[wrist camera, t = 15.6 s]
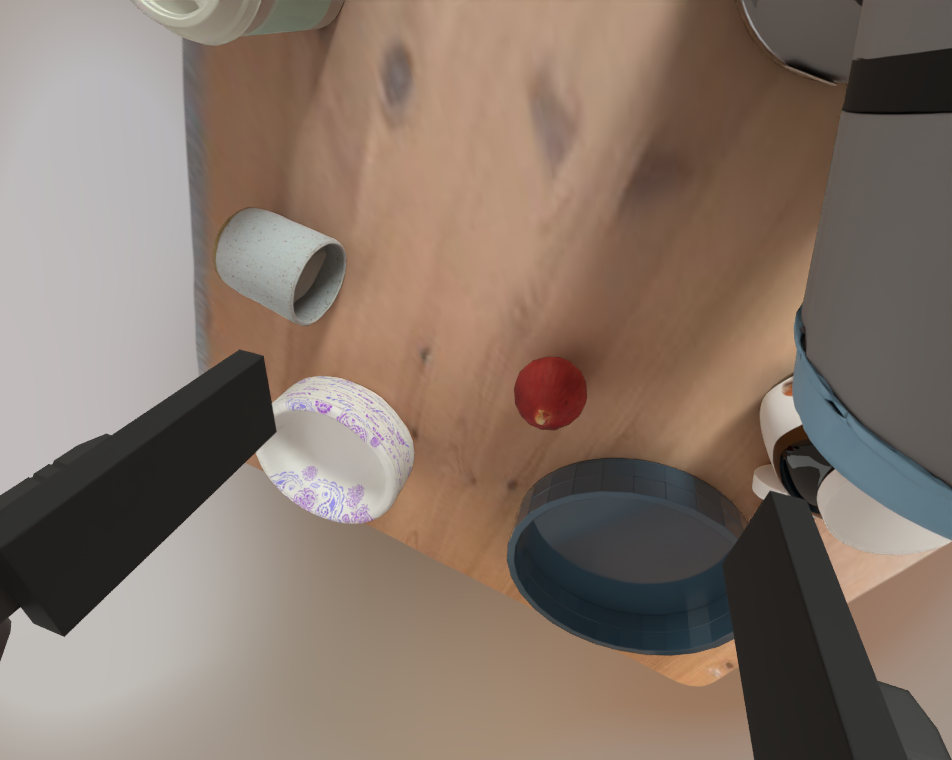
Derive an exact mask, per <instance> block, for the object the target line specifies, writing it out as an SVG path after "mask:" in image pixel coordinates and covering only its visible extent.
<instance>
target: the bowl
mask: <svg viewBox="0 0 952 760" xmlns="http://www.w3.org/2000/svg"><path fill="white" fill-rule="evenodd" d="M747 525H748V524H747V522H746V520H745V519H744V517H743V516H742V514H741V512H740V511H739V510H738V509H737V508H736V507H735V506H734V504H733V503H732V502H731V501H730V500H729V499H727V498H726V497H725V496H724V495H723V494H722V493H720V492H719V491H718V490H716V489H715V488H713V487H712V486H710V485H709V484H707V483H706V482H704V481H702V480H700V479H698V478H696V477H695V476H693V475H691V474H688V473H686V472H683V471H681V470H678V469H676V468H673V467H669V466H666V465H662V464H659V463H654V462H649V461H643V460H637V459H625V458H604V459H595V460H587V461H583V462H579V463H574V464H571V465H568V466H565V467H563V468H560V469H558V470H556V471H554V472H552V473H550V474H548V475H547V476H545V477H544V478H542V479H541V480H539V481H538V482H537V483H536V484H535V485H534V486H533V487H532V488H531V489H530V490H529V491H528V493H527V494H526V495H525V497H524V498H523V500H522V502H521V504H520V507H519V509H518V512H517V514H516V518H515V521H514V525H513V528H512V532H511V535H510V539H509V542H508V550H507V563H508V567H509V570H510V574H511V577H512V579H513V581H514V583H515V585H516V586H517V588H518V590H519V592H520V593H521V595H522V596H523V597H524V598H525V599H526V600H527V601H528V602H529V604H530V605H531V606H532V607H533V608H534V609H535V610H536V611H538V612H539V613H540V614H541V615H543V616H544V617H545V618H547V619H548V620H549V621H550V622H552V623H553V624H555V625H557V626H558V627H560V628H562V629H564V630H565V631H567V632H569V633H571V634H573V635H575V636H577V637H580V638H582V639H585V640H587V641H589V642H592V643H595V644H597V645H601V646H605V647H608V648H611V649H615V650H619V651H625V652H631V653H637V654H645V655H668V656H669V655H670V656H672V655H682V654H691V653H697V652H701V651H705V650H708V649H712V648H716V647H719V646H721V645H723V644H725V643H727V642H729V641H731V640H733V639H734V634H733V628H732V622H731V616H730V610H729V604H728V598H727V591H726V585H725V579H724V573H723V567H722V564H723V562H724V560H725V559H726V557H727V556H728V554H729V553H730V551H731V550H732V548H733V547H734V545H735V543H736V542H737V540H738V539H739V537H740V536H741V534H742V533H743V531H744V530H745V528H746V526H747Z"/></svg>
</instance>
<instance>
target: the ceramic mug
mask: <svg viewBox="0 0 952 760" xmlns="http://www.w3.org/2000/svg"><path fill="white" fill-rule="evenodd" d="M213 261H214V266H215V270H216V272H217V274H218V275H219V277H220V278H221V279H222V280H223V281H224V282H225V283H226V284H227V285H229V286H230V287H232V288H233V289H234V290H236V291H237V292H239V293H240V294H242V295H244V296H246V297H248V298H250V299H252V300H254V301H256V302H258V303H260V304H262V305H263V306H265V307H267V308H269V309H270V310H272V311H274V312H276V313H278V314H279V315H281V316H283V317H285V318H287V319H288V320H290V321H292V322H294V323H296V324H299V325H303V326H308V325H310V324H313V323H314V322H316V321H317V320H318V319H320V318H321V317H322V316H323V315H324V314H325V312H326V311H327V310H328V309H329V308H330V306H331V305H332V303H333V302H334V300H335V298H336V296H337V294H338V293H339V290H340V288H341V285H342V282H343V278H344V275H345V269H346V253H345V250H344V247H343V246H342V244H341V243H340V242H338V241H337V240H335V239H333V238H331V237H329V236H326V235H324V234H322V233H319V232H317V231H315V230H312V229H310V228H308V227H306V226H303V225H301V224H298V223H296V222H294V221H291V220H289V219H287V218H285V217H283V216H281V215H279V214H276V213H273V212H271V211H268V210H263V209H259V208H246V209H242V210H240V211H238V212H236V213H235V214H233V215H232V216H231V217H229V218H228V219H227V221H226V222H225V223H224V224H223V226H222V227H221V229H220V230H219V233H218V235H217V237H216V240H215V242H214V249H213Z"/></svg>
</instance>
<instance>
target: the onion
mask: <svg viewBox="0 0 952 760" xmlns="http://www.w3.org/2000/svg"><path fill="white" fill-rule="evenodd" d="M514 394H515V404H516V406H517V408H518V410H519V413H520V414H521V416H522V417H523V418H524V419H525V420H526V421H527V422H528V423H529V424H530V425H532V426H535V427H537V428H539V429H541V430H556V429H559V428H561V427H564V426H567V425H569V424H570V423H572V422H573V421H574V420H575V419H576V418H578V417H579V415H580V414H581V412H582V410H583V408H584V406H585V403H586V400H587V388H586V381H585V379H584V377H583V375H582V373H581V371H580V370H579V369H578V368H577V367H575V366H574V365H573V364H572V363H571V362H570V361H568V360H565V359H563V358H560V357H544V358H541V359H537V360H533V361H532V362H531V363H529V364H528V365H527V366H526V367H524V368H523V369H522V370H521V371H520V373H519V375H518V378H517V380H516V383H515V387H514Z"/></svg>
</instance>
